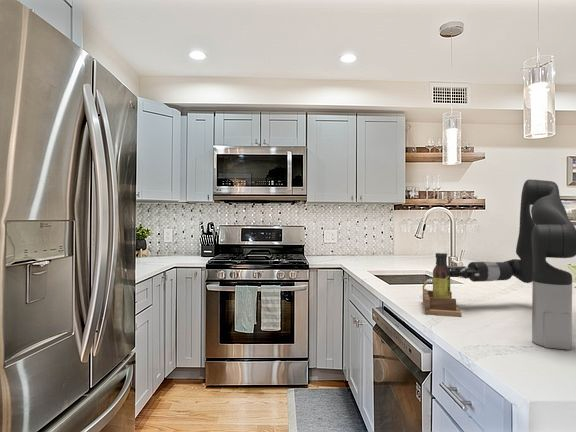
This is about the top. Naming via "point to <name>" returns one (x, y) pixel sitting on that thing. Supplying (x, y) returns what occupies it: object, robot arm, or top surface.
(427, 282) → the ring
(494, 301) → the top surface
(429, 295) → the rack
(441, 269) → the sauce bottle
